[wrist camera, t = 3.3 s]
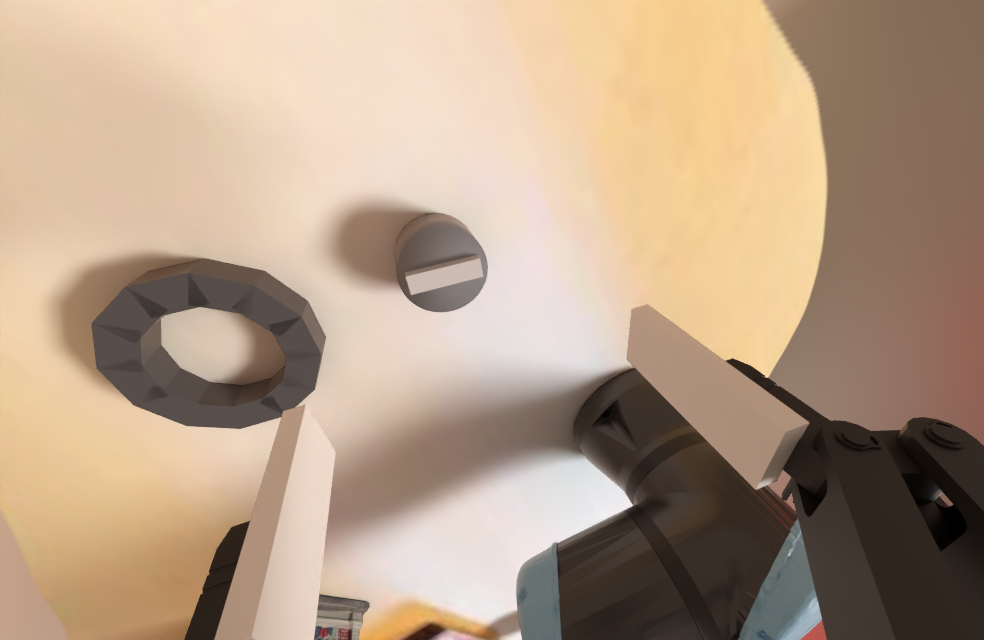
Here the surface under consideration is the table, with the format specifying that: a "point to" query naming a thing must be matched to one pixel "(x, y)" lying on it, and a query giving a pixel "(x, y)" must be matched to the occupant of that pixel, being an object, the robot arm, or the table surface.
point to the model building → (339, 618)
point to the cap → (439, 263)
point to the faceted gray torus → (182, 395)
